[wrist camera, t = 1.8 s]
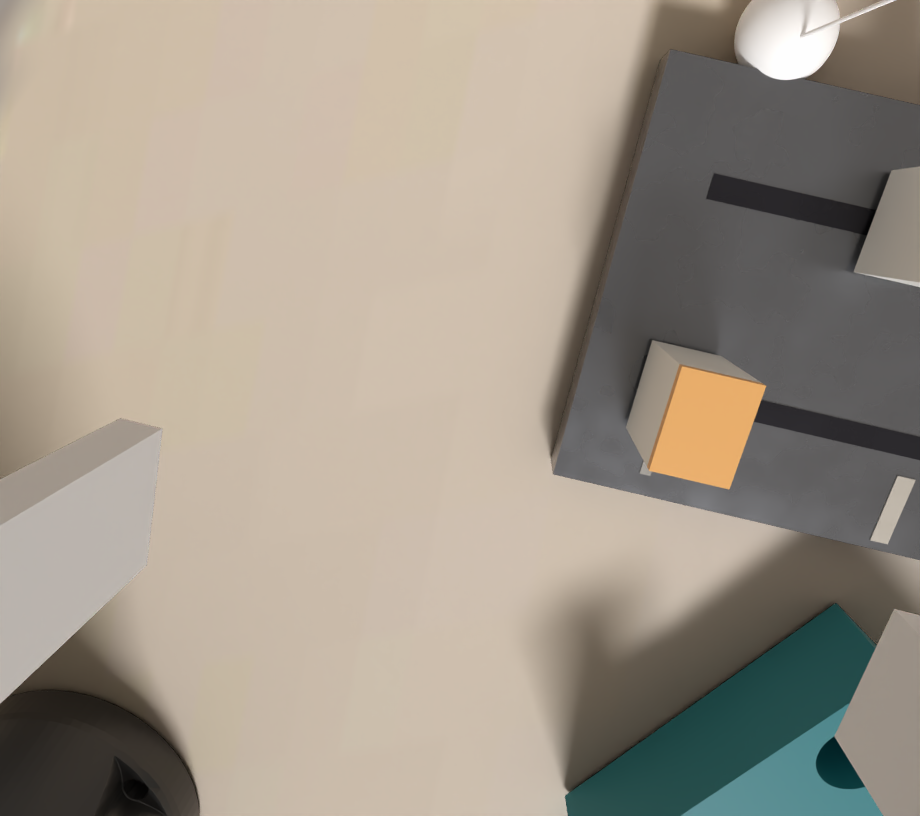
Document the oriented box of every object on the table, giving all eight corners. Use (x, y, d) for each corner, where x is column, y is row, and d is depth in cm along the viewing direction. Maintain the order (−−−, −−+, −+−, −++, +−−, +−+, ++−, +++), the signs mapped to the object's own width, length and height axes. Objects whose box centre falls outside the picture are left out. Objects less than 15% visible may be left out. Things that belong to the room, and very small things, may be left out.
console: (550, 459, 33) (553, 474, 31) (659, 60, 28) (670, 48, 26) (1058, 578, 33) (1093, 601, 31) (1257, 195, 28) (1314, 193, 26)
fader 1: (625, 427, 30) (648, 470, 25) (652, 340, 29) (682, 366, 24) (692, 442, 30) (729, 489, 25) (721, 355, 29) (766, 385, 24)
